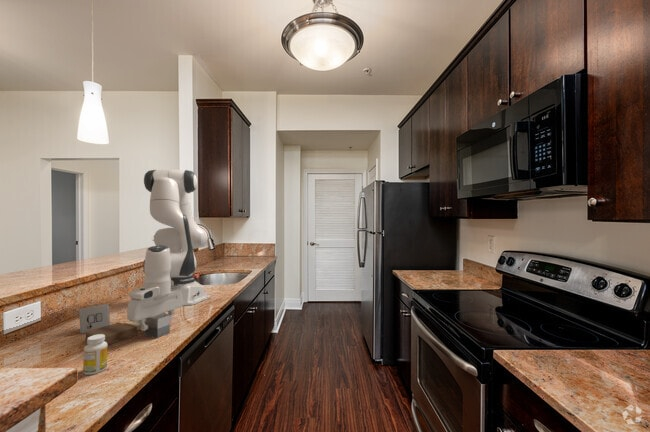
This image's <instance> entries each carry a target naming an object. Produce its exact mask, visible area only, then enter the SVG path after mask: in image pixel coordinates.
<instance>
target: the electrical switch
mask: <svg viewBox="0 0 650 432" xmlns="http://www.w3.org/2000/svg"><path fill="white" fill-rule="evenodd" d="M78 314H79V333H80V334H81V335H82V334H86V332H89V331H92V330H95V329H98V328H102V327H105V326H108V325H111V317H110V316H111V315H110V305H109V304H108V303H105V304H104V303H103V304H98V305H94V306H88V307H82V308H79V309H78ZM88 326H89V327H88Z"/></svg>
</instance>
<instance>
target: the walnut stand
mask: <svg viewBox="0 0 650 432" xmlns="http://www.w3.org/2000/svg"><path fill="white" fill-rule="evenodd" d="M97 334H104V335H105V340H104V341H105V342H107V344H108V346H110V345H112V344H115V343H118V342H121V341H123V340H127V339H128V338H131V337H134V336H137V334H138V331H137V327H136V326H132V325H128V324H124V322H123V323H122V322H115V323H112V324H111V323H110V325H108V326H105V327H102V328H98V329H95V330H92V331H89V332H86V333H85V340H84V341H85V342H87V338H88V337H90V336H93V335H97Z"/></svg>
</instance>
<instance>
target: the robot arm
mask: <svg viewBox="0 0 650 432" xmlns="http://www.w3.org/2000/svg"><path fill="white" fill-rule="evenodd" d="M143 184H144V188H145V189H146V191H148V192H150V197H149V214H150V216H151V218H153V220H155V221H156V222H158V223H160V224H162V225H165V226H168V227H165V228H159V229H158V230H156V232H155V233H154V236H153V243H154V245H153V246H150V247H148V248H147V249H146V252H145V257H144V258H145V259H144V260H143V269H142V271H143V273H144V275H145V276H144V277H145V278H144V280H143V285H141V286H140V287H138V288H136V289H134V290H132V291H130V292H129V298H130V299H129V301H128V304H127V311H126V319H127V321H134V322H136V321H138V322H139V324H140V325H141V332H145V330H148V325H146V324H145V323H144V322H145V321H146V318H149V317H152V316H155V315H158V314H161V313H164V312H165V313H167V314H168V315H170V323H171V322H172V317H173V315H174V313H175V310H176V309H179V308H182V307H183V306H193V305H196V304H198V303H200V302H203V301H205V300H207V299H209V298H211V296H210V294H207V293H206V289H205V286H204V285H202V284H200V283H199V282H198V281H197V280H196V279H199V277H200V275H199V274H196V273H195V271H197V264H198V263H197V262H198V261H197V257H196V255H195V251H194V249H195V250H196V249H200V248H203V247H205V245H206V244H207V243H208V240H209V237H208V232H207V231H206V230H205V229H204V228H202V227H201V226H199V225H198V224H197V222H196V221H195V220H194V217H193V214H192V208H191V207H192V206H191V198H190V194H191V193H193V192H194V191H195V190H196V189H197V187H198V178H197V176H196V173H195V172H194V171H192V170H187V169H185V170H183V169H176V168H175V169H173V168H172V169H171V168H170V169H158V170H157V169H151V170H148V171H147V172H146V173H145V174H144V177H143ZM193 273H195V274H193Z"/></svg>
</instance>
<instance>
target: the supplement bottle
mask: <svg viewBox="0 0 650 432" xmlns="http://www.w3.org/2000/svg"><path fill="white" fill-rule="evenodd" d="M104 340H105V335H104V334H97V335H93V336H90V337H88V338H87V341H86V345H85V346H84V347H83V364H82V365H83V366H82V367H83V369H82V371H83V374H84V375H85V376H86V375H87V376H91V375H95V374H99V373H102V372H103V371H105V370H106V369H107V367H108V346H109V345H108V344H107V342H105V341H104Z"/></svg>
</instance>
